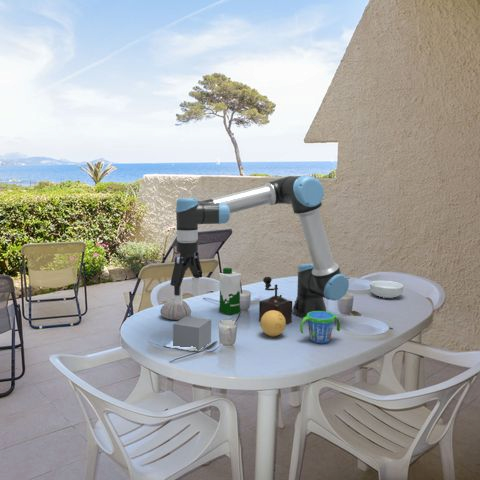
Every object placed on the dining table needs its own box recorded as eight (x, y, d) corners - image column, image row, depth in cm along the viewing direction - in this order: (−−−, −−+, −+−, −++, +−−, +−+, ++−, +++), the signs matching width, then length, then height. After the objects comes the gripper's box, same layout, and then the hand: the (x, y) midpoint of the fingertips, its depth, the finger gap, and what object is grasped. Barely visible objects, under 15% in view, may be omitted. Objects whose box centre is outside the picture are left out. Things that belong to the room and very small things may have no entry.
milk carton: (231, 308, 209) (231, 266, 207) (243, 312, 202) (244, 269, 200) (216, 311, 204) (216, 268, 201) (228, 316, 197) (229, 272, 194)
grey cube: (210, 342, 165) (211, 319, 164) (198, 352, 155) (198, 327, 154) (186, 338, 168) (186, 316, 167) (173, 347, 159) (173, 324, 158)
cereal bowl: (362, 294, 239) (363, 281, 238) (386, 291, 246) (387, 279, 245) (385, 302, 224) (385, 288, 223) (409, 299, 231) (410, 286, 230)
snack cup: (303, 346, 163) (304, 319, 161) (296, 336, 173) (297, 310, 172) (344, 345, 164) (345, 318, 163) (335, 335, 175) (336, 310, 173)
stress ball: (258, 339, 171) (271, 329, 164) (253, 316, 176) (266, 305, 169) (280, 340, 176) (293, 329, 169) (274, 317, 181) (287, 306, 174)
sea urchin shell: (173, 311, 204) (173, 294, 203) (197, 316, 197) (197, 298, 196) (154, 318, 193) (153, 300, 192) (178, 324, 186) (178, 305, 185)
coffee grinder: (293, 322, 190) (295, 281, 188) (277, 327, 183) (278, 285, 180) (266, 314, 201) (267, 275, 199) (249, 319, 193) (250, 278, 191)
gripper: (193, 236, 171) (193, 290, 174) (159, 245, 148) (160, 307, 151) (211, 237, 169) (210, 292, 172) (179, 246, 146) (180, 309, 148)
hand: (187, 299), depth 161 cm, fingers open, 13 cm apart
